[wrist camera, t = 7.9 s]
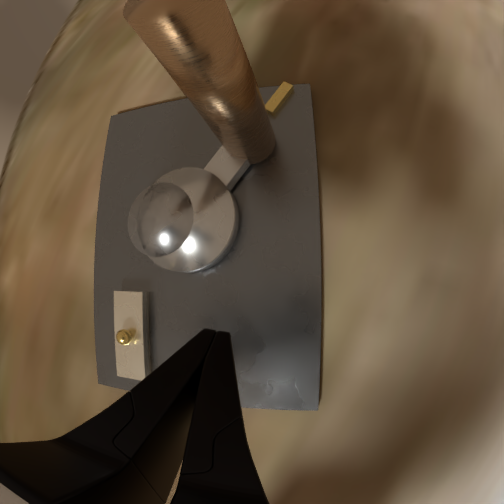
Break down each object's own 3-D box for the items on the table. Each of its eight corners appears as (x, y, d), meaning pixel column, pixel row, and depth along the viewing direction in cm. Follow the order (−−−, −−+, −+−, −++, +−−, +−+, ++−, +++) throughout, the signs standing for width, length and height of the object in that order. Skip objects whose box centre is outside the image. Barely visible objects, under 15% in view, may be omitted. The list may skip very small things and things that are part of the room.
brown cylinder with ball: (306, 147, 18) (277, -20, 6) (196, 294, 18) (29, 302, 7) (223, 101, 19) (138, -38, 8) (126, 231, 20) (-33, 185, 8)
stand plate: (318, 406, 17) (317, 422, 15) (103, 381, 20) (83, 389, 18) (310, 88, 19) (308, 67, 17) (115, 119, 22) (98, 106, 20)
